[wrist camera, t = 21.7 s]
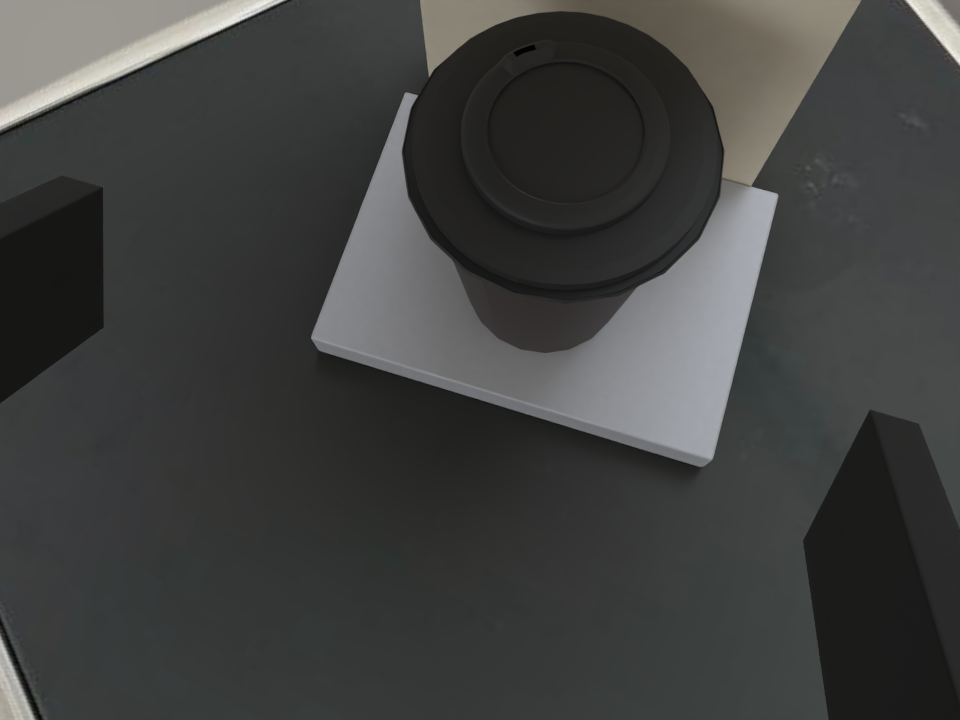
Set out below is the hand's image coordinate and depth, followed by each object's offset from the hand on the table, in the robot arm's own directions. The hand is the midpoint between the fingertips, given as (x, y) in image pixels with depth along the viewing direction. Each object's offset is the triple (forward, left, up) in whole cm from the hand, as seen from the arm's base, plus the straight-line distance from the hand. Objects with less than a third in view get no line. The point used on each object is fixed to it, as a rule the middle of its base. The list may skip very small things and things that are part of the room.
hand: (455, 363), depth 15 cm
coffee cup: (-1, +8, -15) cm, 17 cm away
